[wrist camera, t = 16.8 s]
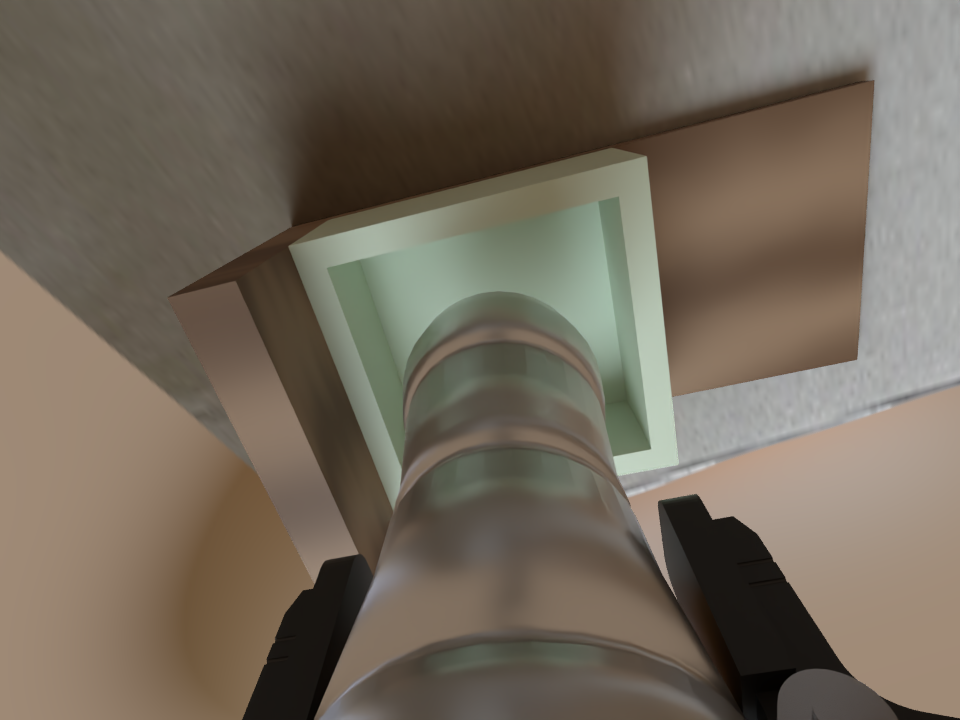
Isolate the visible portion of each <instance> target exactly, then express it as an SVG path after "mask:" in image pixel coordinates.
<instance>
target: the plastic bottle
mask: <svg viewBox="0 0 960 720" xmlns="http://www.w3.org/2000/svg"><path fill="white" fill-rule="evenodd" d="M403 421H404V428H405V441H404V451H403V462H402V472H401V483H400V489H399V493H398V496H397V499H396V503H395V507H394V511H393V515H392V518H391V520H390V523H389V526H388V530H387V533H386V536H385V540H384V543H383V547H382V550H381V553H380V557H379V560H378V564H377V567H376V570H375V574H374V577H373V580H372V582H371V584H370V587H369V589H368V592H367V594H366V596H365V599H364V601H363V604H362V606H361V608H360V611H359V613H358V615H357V618H356V620H355V623H354V625H353V627H352V630H351V632H350V635H349V637H348V639H347V642H346V644H345V647H344V649H343V651H342V654H341V656H340V658H339V661H338V663H337V666H336V668H335V670H334V673H333V675H332V678H331V680H330V682H329V685H328V687H327V690H326V692H325V694H324V697H323V699H322V701H321V704H320V706H319V709H318V711H317V713H316V716H315V718H314V720H746V718H745V716H744V715H743V713H742V711H741V709H740V708H739V706H738V704H737V702H736V701H735V699H734V697H733V695H732V694H731V692H730V690H729V688H728V687H727V685H726V683H725V682H724V680H723V678H722V676H721V675H720V673H719V671H718V669H717V668H716V666H715V664H714V663H713V661H712V659H711V657H710V656H709V654H708V652H707V651H706V649H705V647H704V645H703V644H702V642H701V640H700V639H699V637H698V635H697V633H696V632H695V630H694V628H693V627H692V625H691V623H690V621H689V620H688V618H687V616H686V615H685V613H684V611H683V609H682V608H681V606H680V604H679V603H678V601H677V599H676V597H675V596H674V594H673V592H672V591H671V589H670V587H669V585H668V584H667V582H666V580H665V579H664V577H663V576H662V573H661V571H660V569H659V566H658V564H657V562H656V560H655V558H654V555H653V553H652V551H651V549H650V547H649V544H648V542H647V540H646V538H645V535H644V533H643V531H642V529H641V527H640V525H639V522H638V520H637V518H636V516H635V515H634V513H633V511H632V509H631V507H630V503H629V500H628V498H627V496H626V494H625V491H624V489H623V487H622V485H621V483H620V481H619V478H618V475H617V471H616V467H615V463H614V459H613V454H612V450H611V446H610V442H609V438H608V434H607V430H606V425H605V397H604V391H603V385H602V380H601V375H600V371H599V367H598V364H597V360H596V358H595V356H594V354H593V352H592V350H591V348H590V346H589V344H588V342H587V341H586V340H585V339H584V338H583V336H582V335H581V334H580V333H579V331H578V330H577V329H576V328H575V327H574V326H573V325H572V324H571V323H570V322H569V321H568V320H567V319H566V318H565V317H563V316H562V315H561V314H560V313H559V312H557V311H556V310H555V309H554V308H552V307H551V306H549V305H547V304H546V303H544V302H542V301H540V300H538V299H536V298H533V297H530V296H527V295H523V294H520V293H514V292H503V291H496V292H486V293H479V294H476V295H473V296H470V297H467V298H463V299H462V300H460V301H458V302H456V303H454V304H453V305H451V306H449V307H448V308H446V309H445V310H444V311H443V312H442V313H441V314H439V315H438V316H437V317H436V318H435V319H434V320H433V321H432V323H431V324H430V325H429V326H428V327H427V329H426V330H425V331H424V333H423V334H422V335H421V337H420V338H419V339H418V341H417V342H416V343H415V345H414V347H413V349H412V351H411V354H410V356H409V358H408V360H407V364H406V369H405V373H404V378H403Z"/></svg>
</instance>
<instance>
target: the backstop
mask: <svg viewBox="0 0 960 720" xmlns="http://www.w3.org/2000/svg"><path fill="white" fill-rule="evenodd" d="M873 94H874V80H872V81H862V82H857V83H853V84H849V85H845V86H841V87H838V88H834V89H830V90H826V91H822V92H818V93H814V94H810V95H806V96H802V97H798V98H795V99H791V100H787V101H783V102H779V103H775V104H771V105H767V106H763V107H759V108H755V109H752V110H748V111H744V112H740V113H736V114H732V115H728V116H724V117H720V118H716V119H712V120H708V121H705V122H701V123H697V124H693V125H689V126H685V127H681V128H677V129H673V130H669V131H665V132H662V133H658V134H654V135H650V136H646V137H642V138H638V139H634V140H630V141H626V142H622V143H619V144H615V145H611V146H607V147H603V148H599V149H595V150H591V151H587V152H583V153H579V154H576V155H572V156H568V157H564V158H560V159H556V160H552V161H548V162H544V163H540V164H536V165H532V166H529V167H525V168H521V169H517V170H513V171H509V172H505V173H501V174H497V175H493V176H489V177H486V178H482V179H478V180H474V181H470V182H466V183H462V184H458V185H454V186H450V187H446V188H443V189H439V190H435V191H431V192H427V193H423V194H419V195H415V196H411V197H407V198H403V199H400V200H396V201H392V202H388V203H384V204H380V205H376V206H372V207H368V208H364V209H360V210H356V211H353V212H349V213H345V214H341V215H337V216H333V217H329V218H325V219H321V220H317V221H313V222H310V223H306V224H302V225H298V226H294V227H291V228H289V229H287V230H286V231H284V232H282V233H280V234H278V235H277V236H275V237H273V238H271V239H270V240H268V241H266V242H264V243H263V244H261V245H259V246H257V247H256V248H254V249H252V250H250V251H249V252H247V253H245V254H243V255H242V256H240V257H238V258H236V259H234V260H233V261H231V262H229V263H227V264H226V265H224V266H222V267H220V268H219V269H217V270H215V271H213V272H212V273H210V274H208V275H206V276H205V277H203V278H201V279H199V280H198V281H196V282H194V283H192V284H190V285H189V286H187V287H185V288H183V289H182V290H180V291H178V292H176V293H175V294H173V295H171V296H169V297H168V300H169V302H170V304H171V306H172V308H173V310H174V312H175V314H176V316H177V318H178V320H179V322H180V323H181V325H182V327H183V329H184V331H185V333H186V335H187V337H188V339H189V341H190V343H191V345H192V347H193V349H194V351H195V353H196V355H197V357H198V359H199V360H200V362H201V364H202V366H203V368H204V370H205V372H206V374H207V376H208V378H209V380H210V382H211V384H212V386H213V388H214V390H215V392H216V394H217V395H218V397H219V399H220V401H221V403H222V405H223V407H224V409H225V411H226V413H227V415H228V417H229V419H230V421H231V423H232V425H233V427H234V429H235V430H236V432H237V434H238V436H239V438H240V440H241V442H242V444H243V446H244V448H245V450H246V452H247V454H248V456H249V458H250V460H251V462H252V464H253V466H254V467H255V469H256V471H257V473H258V475H259V477H260V479H261V481H262V483H263V485H264V487H265V489H266V491H267V493H268V495H269V497H270V499H271V500H272V502H273V504H274V506H275V508H276V510H277V512H278V514H279V516H280V518H281V520H282V522H283V524H284V526H285V528H286V530H287V532H288V533H289V536H290V537H291V539H292V541H293V543H294V545H295V547H296V549H297V551H298V553H299V555H300V557H301V559H302V561H303V563H304V564H305V566H306V569H307V571H308V573H309V574H310V576H311V578H312V580H313V582H314V584H315V582H316V579H317V577H318V574H319V571H320V568H321V566H322V564H323V563H324V562H325V561H326V560H329V559H335V558H340V557H346V556H351V555H357V554H362V555H363V556H364V557H365V559H366V561H367V563H368V565H369V567H370V570H371V572H372V574H373V576H374V574H375V570H376V567H377V564H378V560H379V557H380V553H381V550H382V547H383V543H384V540H385V536H386V533H387V530H388V526H389V523H390V520H391V518H392V515H393V509H392V507H391V504H390V502H389V499H388V497H387V494H386V492H385V489H384V487H383V484H382V482H381V479H380V477H379V474H378V472H377V469H376V467H375V464H374V462H373V459H372V456H371V454H370V451H369V449H368V446H367V444H366V441H365V439H364V436H363V434H362V431H361V429H360V426H359V424H358V421H357V419H356V416H355V414H354V411H353V409H352V406H351V404H350V401H349V399H348V396H347V393H346V391H345V388H344V386H343V383H342V381H341V378H340V376H339V373H338V371H337V368H336V366H335V363H334V361H333V358H332V356H331V353H330V351H329V348H328V346H327V343H326V341H325V338H324V336H323V333H322V330H321V328H320V325H319V323H318V320H317V318H316V315H315V313H314V310H313V308H312V305H311V303H310V300H309V298H308V295H307V293H306V290H305V288H304V285H303V283H302V280H301V278H300V275H299V273H298V270H297V267H296V265H295V262H294V260H293V257H292V255H291V252H290V250H289V247H288V246H289V245H291V244H292V243H294V242H296V241H297V240H299V239H300V238H302V237H303V236H305V235H306V234H308V233H309V232H311V231H312V230H314V229H315V228H317V227H318V226H320V225H321V224H323V223H324V222H326V221H328V220H330V219H334V218H338V217H342V216H346V215H350V214H354V213H357V212H361V211H365V210H369V209H373V208H377V207H381V206H385V205H389V204H393V203H397V202H401V201H404V200H408V199H412V198H416V197H420V196H424V195H428V194H432V193H436V192H440V191H444V190H448V189H451V188H455V187H459V186H463V185H467V184H471V183H475V182H479V181H483V180H487V179H491V178H495V177H499V176H502V175H506V174H510V173H514V172H518V171H522V170H526V169H530V168H534V167H538V166H542V165H546V164H549V163H553V162H557V161H561V160H565V159H569V158H573V157H577V156H581V155H585V154H589V153H593V152H596V151H600V150H604V149H608V148H615V149H620V150H624V151H628V152H632V153H636V154H640V155H644V156H647V164H648V173H649V183H650V192H651V202H652V212H653V221H654V231H655V240H656V250H657V260H658V269H659V279H660V289H661V298H662V308H663V317H664V327H665V337H666V346H667V356H668V365H669V375H670V385H671V394H672V397H674V396H679V395H684V394H689V393H694V392H699V391H704V390H709V389H714V388H719V387H724V386H728V385H733V384H738V383H743V382H748V381H753V380H758V379H763V378H768V377H773V376H778V375H783V374H788V373H793V372H798V371H803V370H808V369H813V368H818V367H823V366H828V365H833V364H838V363H843V362H848V361H853V360H857V355H858V339H859V322H860V306H861V290H862V273H863V257H864V241H865V225H866V208H867V192H868V176H869V159H870V143H871V127H872V111H873Z"/></svg>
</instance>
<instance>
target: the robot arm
mask: <svg viewBox="0 0 960 720" xmlns="http://www.w3.org/2000/svg"><path fill="white" fill-rule="evenodd" d="M658 510H659V517H660V525H661V533H662V541H663V548H664V556H665V562H666V566H667V570H668V574H669V577H670V581H671V584H672V587H673V589H674V592H675V595H676V597H677V600H678V602H679V604H680V606H681V608H682V609H683V611H684V613H685V615H686V616H687V618H688V620H689V621H690V623H691V625H692V627H693V628H694V630H695V632H696V633H697V635H698V637H699V639H700V640H701V642H702V644H703V645H704V647H705V649H706V651H707V652H708V654H709V656H710V657H711V659H712V661H713V663H714V664H715V666H716V668H717V669H718V671H719V673H720V675H721V676H722V678H723V680H724V682H725V683H726V685H727V687H728V688H729V690H730V692H731V694H732V695H733V697H734V699H735V701H736V702H737V704H738V706H739V708H740V709H741V711H742V713H743V715H744V716H745V718H746V720H960V718H954V717H949V716H943V715H937V714H932V713H926V712H920V711H916V710H912V709H909V708H906V707H903V706H900V705H897V704H895V703H893V702H890V701H888V700H886V699H884V698H883V697H881V696H879V695H878V694H877V693H876V692H875V691H873V690H872V689H870V688H869V687H868V686H866V685H865V684H863V683H861V682H860V681H858V680H857V679H855V678H854V677H853V676H852V675H851V674H850V673H849V672H848V671H847V670H846V668H845V667H844V666H843V664H842V663H841V662H840V661H839V659H838V657H837V656H836V654H835V653H834V651H833V650H832V648H831V647H830V645H829V644H828V642H827V641H826V639H825V637H824V636H823V635H822V633H821V631H820V630H819V628H818V627H817V625H816V624H815V622H814V621H813V619H812V618H811V616H810V614H809V613H808V612H807V610H806V608H805V607H804V605H803V604H802V602H801V601H800V599H799V598H798V596H797V595H796V593H795V591H794V590H793V588H792V587H791V585H790V584H789V583H787V581H786V579H785V576H784V575H783V573H782V571H781V570H780V568H779V567H778V565H777V564H776V562H773V558H772V556H771V555H770V553H769V552H768V550H767V548H766V547H765V545H764V544H763V542H762V541H761V539H760V538H759V536H758V535H757V534H756V533H755V532H753V531H752V530H751V529H749V528H748V527H747V526H746V525H744V524H743V523H741V522H740V521H739V520H737V519H736V518H735V517H726V518H720V519H715V520H712V518H711V516H710V515H709V513H708V511H707V509H706V508H705V506H704V504H703V502H702V500H701V499H700V497H699V496H698V495H697V494H694V495H689V496H683V497H677V498H672V499H666V500H661V501H659V502H658ZM373 577H374V576H373V574H372V572H371V570H370V567H369V565H368V563H367V561H366V559H365V557H364V556H363V555H362V554H357V555H351V556H346V557H340V558H335V559H329V560H326V561H325V562H324V563H323V564H322V566H321V568H320V571H319V574H318V577H317V579H316V582H315V585H314V588H313V589H309V590H303V591H302V592H301V594H300V595H299V596H298V598H297V599H296V600H295V601H294V603H293V604H292V605H291V607H290V608H289V609H288V610H287V612H286V613H285V615H284V617H283V620H282V622H281V625H280V627H279V630H278V632H277V635H276V637H275V643H274V644H273V645H272V647H271V650H270V652H269V655H268V657H267V664H266V665H264V667H263V670H262V672H261V675H260V677H259V679H258V682H257V684H256V687H255V689H254V692H253V694H252V697H251V699H250V702H249V704H248V707H247V709H246V712H245V714H244V717H243V719H242V720H314V718H315V716H316V713H317V711H318V709H319V706H320V704H321V701H322V699H323V697H324V694H325V692H326V690H327V687H328V685H329V682H330V680H331V678H332V675H333V673H334V670H335V668H336V666H337V663H338V661H339V658H340V656H341V654H342V651H343V649H344V647H345V644H346V642H347V639H348V637H349V635H350V632H351V630H352V627H353V625H354V623H355V620H356V618H357V615H358V613H359V611H360V608H361V606H362V604H363V601H364V599H365V596H366V594H367V592H368V589H369V587H370V584H371V582H372V580H373Z"/></svg>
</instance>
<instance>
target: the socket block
mask: <svg viewBox="0 0 960 720" xmlns="http://www.w3.org/2000/svg"><path fill="white" fill-rule="evenodd" d="M288 247H289V250H290V252H291V255H292V257H293V260H294V262H295V265H296V267H297V270H298V273H299V275H300V278H301V280H302V283H303V285H304V288H305V290H306V293H307V295H308V298H309V300H310V303H311V305H312V308H313V310H314V313H315V315H316V318H317V320H318V323H319V325H320V328H321V330H322V333H323V336H324V338H325V341H326V343H327V346H328V348H329V351H330V353H331V356H332V358H333V361H334V363H335V366H336V368H337V371H338V373H339V376H340V378H341V381H342V383H343V386H344V388H345V391H346V393H347V396H348V399H349V401H350V404H351V406H352V409H353V411H354V414H355V416H356V419H357V421H358V424H359V426H360V429H361V431H362V434H363V436H364V439H365V441H366V444H367V446H368V449H369V451H370V454H371V456H372V459H373V462H374V464H375V467H376V469H377V472H378V474H379V477H380V479H381V482H382V484H383V487H384V489H385V492H386V494H387V497H388V499H389V502H390V504H391V507H392V509H393V511H394V507H395V503H396V499H397V496H398V493H399V489H400V483H401V472H402V462H403V451H404V441H405V428H404V421H403V378H404V373H405V369H406V364H407V360H408V358H409V356H410V354H411V351H412V349H413V347H414V345H415V343H416V342H417V341H418V339H419V338H420V337H421V335H422V334H423V333H424V331H425V330H426V329H427V327H428V326H429V325H430V324H431V323H432V321H433V320H434V319H435V318H436V317H437V316H438V315H439V314H441V313H442V312H443V311H444V310H445V309H446V308H448V307H449V306H451V305H453V304H454V303H456V302H458V301H460V300H462V299H463V298H467V297H470V296H473V295H476V294H479V293H486V292H496V291H503V292H514V293H520V294H523V295H527V296H530V297H533V298H536V299H538V300H540V301H542V302H544V303H546V304H547V305H549V306H551V307H552V308H554V309H555V310H556V311H557V312H559V313H560V314H561V315H562V316H563V317H565V318H566V319H567V320H568V321H569V322H570V323H571V324H572V325H573V326H574V327H575V328H576V329H577V330H578V331H579V333H580V334H581V335H582V336H583V338H584V339H585V340H586V341H587V342H588V344H589V346H590V348H591V350H592V352H593V354H594V356H595V358H596V360H597V364H598V367H599V371H600V375H601V380H602V385H603V391H604V397H605V425H606V430H607V434H608V438H609V442H610V446H611V450H612V454H613V459H614V463H615V467H616V471H617V475H618V476H621V475H626V474H632V473H637V472H642V471H648V470H653V469H658V468H664V467H669V466H674V465H679V461H678V452H677V442H676V433H675V423H674V413H673V404H672V394H671V385H670V375H669V365H668V356H667V346H666V337H665V327H664V317H663V308H662V298H661V289H660V279H659V269H658V260H657V250H656V240H655V231H654V221H653V212H652V202H651V192H650V183H649V173H648V164H647V156H644V155H640V154H636V153H632V152H628V151H624V150H620V149H615V148H608V149H604V150H600V151H596V152H593V153H589V154H585V155H581V156H577V157H573V158H569V159H565V160H561V161H557V162H553V163H549V164H546V165H542V166H538V167H534V168H530V169H526V170H522V171H518V172H514V173H510V174H506V175H502V176H499V177H495V178H491V179H487V180H483V181H479V182H475V183H471V184H467V185H463V186H459V187H455V188H451V189H448V190H444V191H440V192H436V193H432V194H428V195H424V196H420V197H416V198H412V199H408V200H404V201H401V202H397V203H393V204H389V205H385V206H381V207H377V208H373V209H369V210H365V211H361V212H357V213H354V214H350V215H346V216H342V217H338V218H334V219H330V220H328V221H326V222H324V223H323V224H321V225H320V226H318V227H317V228H315V229H314V230H312V231H311V232H309V233H308V234H306V235H305V236H303V237H302V238H300V239H299V240H297V241H296V242H294V243H292V244H291V245H289V246H288Z"/></svg>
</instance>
